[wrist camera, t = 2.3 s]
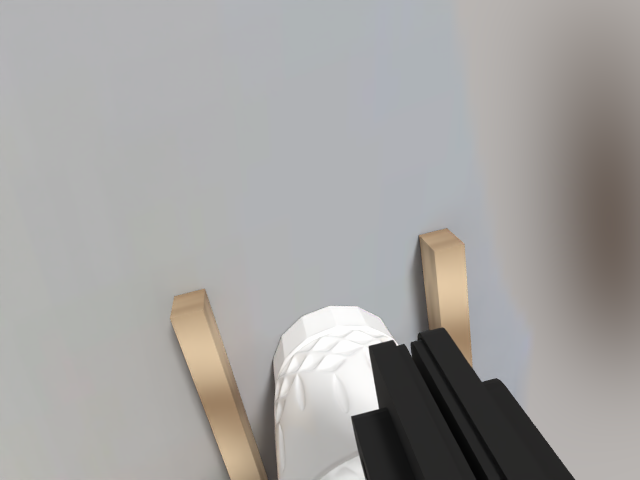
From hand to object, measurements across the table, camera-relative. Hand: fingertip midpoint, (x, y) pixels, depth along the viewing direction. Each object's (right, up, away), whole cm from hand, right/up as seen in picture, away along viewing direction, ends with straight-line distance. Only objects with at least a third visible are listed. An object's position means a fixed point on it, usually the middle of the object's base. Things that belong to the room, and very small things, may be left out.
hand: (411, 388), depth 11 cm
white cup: (-1, -3, +16) cm, 17 cm away
